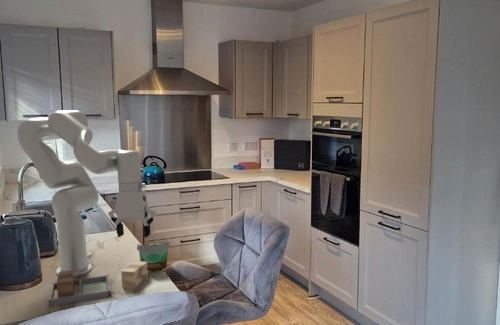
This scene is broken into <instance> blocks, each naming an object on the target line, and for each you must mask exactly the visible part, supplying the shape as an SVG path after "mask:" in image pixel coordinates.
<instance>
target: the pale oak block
mask: <svg viewBox="0 0 500 325" xmlns="http://www.w3.org/2000/svg"><path fill="white" fill-rule="evenodd" d="M120 272H121V286H122V288H128V289H129V288H130V289H135V288H136V287H138V286H139V285H140V284H141V283H143V282H144V281H145V280H146V279H148V278H149V271H148V263H147V262H141V260H139V261H134V262H133V263H131V264H130V265H128V266H127V267H126V268H123V270H121V271H120Z"/></svg>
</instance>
